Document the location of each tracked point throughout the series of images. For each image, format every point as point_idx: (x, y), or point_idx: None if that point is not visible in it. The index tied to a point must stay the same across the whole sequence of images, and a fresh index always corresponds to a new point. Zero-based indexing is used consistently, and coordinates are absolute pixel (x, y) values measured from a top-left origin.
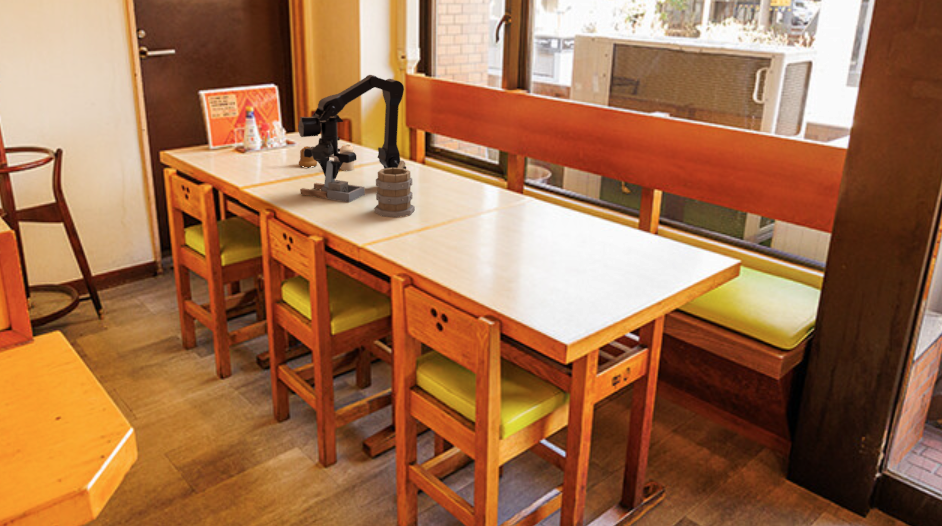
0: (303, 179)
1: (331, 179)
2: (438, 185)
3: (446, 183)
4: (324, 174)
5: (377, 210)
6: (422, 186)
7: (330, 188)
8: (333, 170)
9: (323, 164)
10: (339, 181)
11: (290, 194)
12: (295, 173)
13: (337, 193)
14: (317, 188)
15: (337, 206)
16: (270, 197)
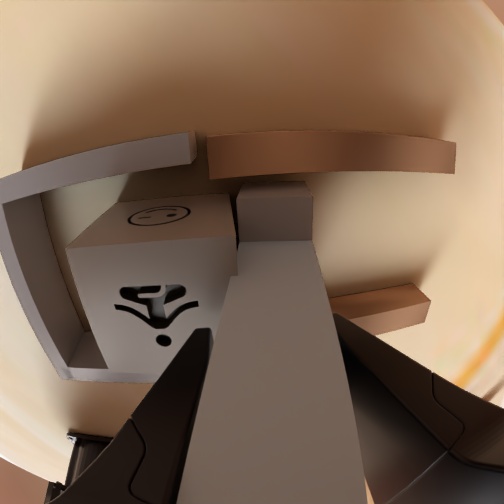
0: (473, 349)
1: (225, 305)
2: (56, 467)
3: (63, 476)
4: (360, 330)
5: None
6: (67, 460)
7: (207, 216)
8: (169, 423)
9: (446, 454)
10: (174, 347)
11: (468, 119)
12: (493, 367)
13: (72, 155)
14: (395, 290)
15: (29, 50)
16: (493, 41)
